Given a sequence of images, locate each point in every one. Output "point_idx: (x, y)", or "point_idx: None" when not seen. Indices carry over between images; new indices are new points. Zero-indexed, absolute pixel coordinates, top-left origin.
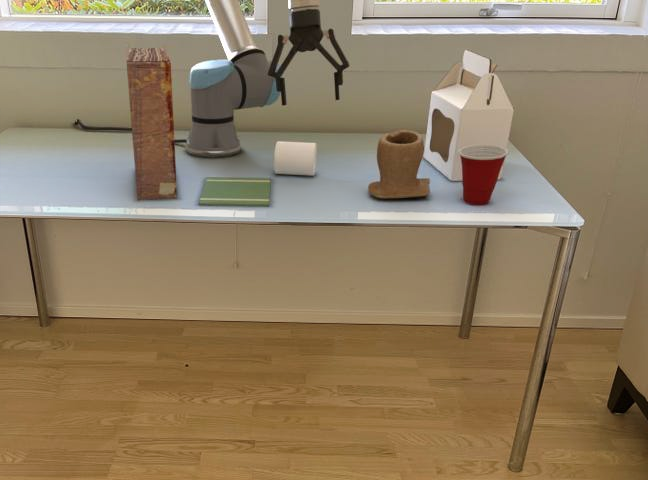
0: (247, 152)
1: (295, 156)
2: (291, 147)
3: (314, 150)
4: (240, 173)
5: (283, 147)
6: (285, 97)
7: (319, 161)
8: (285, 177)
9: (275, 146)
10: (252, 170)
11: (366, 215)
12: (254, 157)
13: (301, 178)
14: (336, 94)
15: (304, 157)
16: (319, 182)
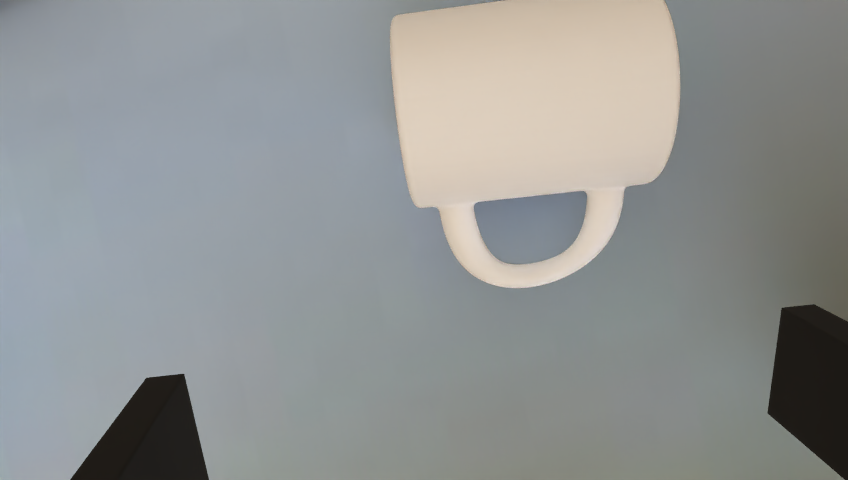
0: None
1: (509, 2)
2: (553, 24)
3: (391, 40)
4: (806, 34)
5: (610, 17)
6: (835, 429)
7: (436, 365)
8: None
9: (671, 18)
10: (750, 110)
11: None
12: None
13: None
14: (140, 412)
15: (451, 9)
16: (362, 3)
